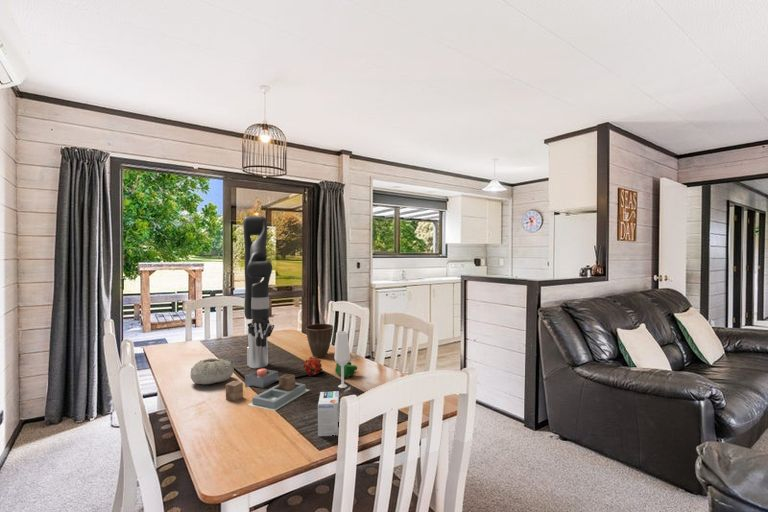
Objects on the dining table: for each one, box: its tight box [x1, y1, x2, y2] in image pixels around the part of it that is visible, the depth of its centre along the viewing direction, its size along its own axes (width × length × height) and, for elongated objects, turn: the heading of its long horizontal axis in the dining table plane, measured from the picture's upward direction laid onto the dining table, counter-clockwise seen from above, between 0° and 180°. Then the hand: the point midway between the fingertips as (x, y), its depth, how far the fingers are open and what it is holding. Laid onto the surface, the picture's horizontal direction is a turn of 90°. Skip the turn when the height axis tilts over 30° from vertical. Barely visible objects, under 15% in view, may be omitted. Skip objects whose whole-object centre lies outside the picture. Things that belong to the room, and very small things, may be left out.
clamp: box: [334, 361, 358, 379], centre depth 186 cm, size 12×6×9 cm, turn 24°
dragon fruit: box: [303, 356, 324, 377], centre depth 187 cm, size 8×8×12 cm
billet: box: [278, 373, 296, 391], centre depth 161 cm, size 4×4×7 cm
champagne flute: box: [333, 330, 351, 392], centre depth 168 cm, size 7×7×24 cm
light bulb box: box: [317, 390, 340, 437], centre depth 133 cm, size 11×7×11 cm, turn 5°
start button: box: [257, 368, 268, 376], centre depth 174 cm, size 4×4×4 cm
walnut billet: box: [225, 380, 244, 402], centre depth 157 cm, size 4×4×7 cm
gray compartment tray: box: [247, 382, 310, 412], centre depth 157 cm, size 13×22×4 cm, turn 156°
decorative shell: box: [190, 357, 235, 386], centre depth 178 cm, size 18×18×10 cm
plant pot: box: [305, 323, 334, 358], centre depth 217 cm, size 15×15×16 cm
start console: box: [244, 369, 280, 389], centre depth 174 cm, size 10×10×5 cm
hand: (261, 346), depth 173 cm, fingers closed
